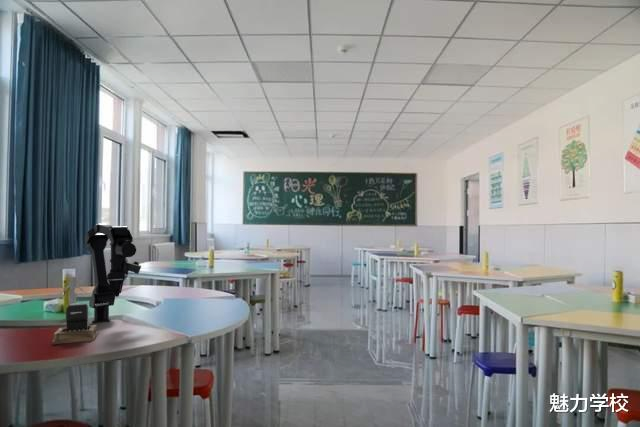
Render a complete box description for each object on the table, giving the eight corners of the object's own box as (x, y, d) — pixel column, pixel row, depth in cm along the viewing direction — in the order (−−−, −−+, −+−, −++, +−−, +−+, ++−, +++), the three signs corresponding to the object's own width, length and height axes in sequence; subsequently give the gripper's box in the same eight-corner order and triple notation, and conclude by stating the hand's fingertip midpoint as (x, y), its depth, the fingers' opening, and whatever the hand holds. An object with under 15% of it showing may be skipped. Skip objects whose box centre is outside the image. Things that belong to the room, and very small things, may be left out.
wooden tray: (58, 337, 149) (58, 327, 149) (98, 333, 154) (98, 324, 154) (51, 344, 139) (51, 334, 139) (94, 340, 144) (94, 330, 144)
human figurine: (86, 312, 192) (87, 275, 192) (87, 314, 188) (88, 275, 189) (56, 316, 185) (57, 277, 185) (57, 317, 181) (57, 278, 182)
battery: (64, 337, 144) (65, 305, 144) (66, 335, 147) (66, 303, 147) (87, 335, 146) (87, 303, 147) (88, 332, 150) (88, 302, 150)
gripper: (138, 257, 159) (138, 296, 158) (141, 254, 176) (141, 290, 175) (107, 258, 154) (107, 299, 154) (112, 255, 172) (112, 292, 171)
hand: (118, 294), depth 164 cm, fingers open, 9 cm apart
